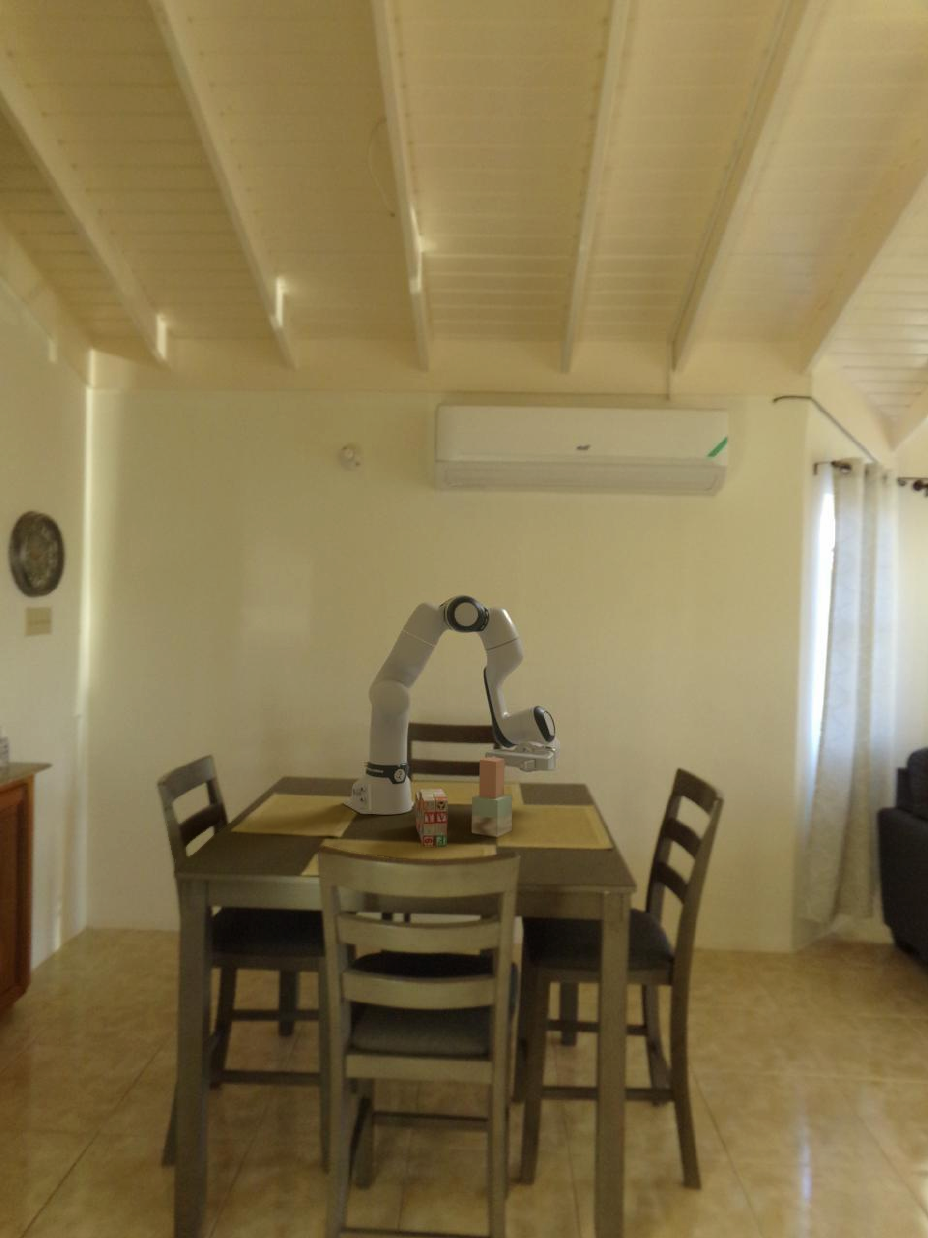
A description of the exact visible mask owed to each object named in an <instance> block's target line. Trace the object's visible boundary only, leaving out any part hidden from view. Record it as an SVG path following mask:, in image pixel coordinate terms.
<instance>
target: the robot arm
mask: <svg viewBox="0 0 928 1238" xmlns="http://www.w3.org/2000/svg"><path fill="white" fill-rule="evenodd" d="M448 630H449V631H450V630H451V631H454V632H456V633H462V634H463V633H464V634H465V633H476V634H477V635H478V636H479V637H480V639H481V642H482V645H483V648H484V650H485V654H486V661H487V662H486V666H485V667H484V668H483V683H484V688H485V693H486V698H487V703H488V708H489V713H490V716H491V717H490V718H491V727H492V728H491V729H492V735H493V739H494V740H495V742H496V743H498V744H499V745H500V746H502V747H504V748H496V749H495V748H494V749H491V750H490V749H489V750H486V751H485V753H484V758H487V757H493V758H502V759H505V767H510V768H517V769H519V770H520V771H522V772H524V773H531V772H539V771H542V772H543V771H544V772H553V771H556V766H557V760H558V759H559V757H560V755H561V752H562V745H561V742H560V740H559V738H557V736H556V725H555V722H554V719H553V716H552V715H551V713H549V712H548V710H546V709H545V708H544V707H543V706H540V705H535V706H532V707H528V708H524V709H522V710H519V711H518V710H517V711H515V712H511V713H510V712H508V709H507V705H506V699H505V695H504V690H503V684H504V681H505V680H506V679H507V678H508V676H509V675H511V674H512V673H513V672H515V671H516V670H517V668H519V666H520V665H521V664H522V662H523V659H524V656H525V649H524V645H523V643H522V640H521V637H520V635H519V632H518V630H517V628H516V625H515V623H514V622H513V620H512V618H511V616H510V614H509V613H508V611H507V610H506V609H504V608H503V607H501V606H494V607H493V606H492V607H488V608H487V607H485V606H484V605H483V604H482V603H481V602H479V601H478V600H477V599H476V598H473V597H472V596H469V595H464V594H460V595H459V594H458V595H456V596H453V597H451V598H449V599H447V600H446V601H444V602H443V603H441V604H440V605H437V604H435V603H432V602H422V603H420V604H419V605H418V604H417V606H416V608H415V609H414V611H412V612H411V614H410V616H409V617H408V619H407V621H406V623H405V624H404V626H403V628H402V630H401V631H400V633H399V635H398V638H397V639H396V641H395V643H394V645H393V646H392V649H391V651H390V653H389V655H388V656H387V658H386V660H385V661H384V663H383V664H382V666H381V667H380V669H379V671H378V673H377V675H376V676H375V678H374V680H373V681H372V683H371V685H370V687H369V689H368V699H369V702H370V704H371V719H370V720H371V721H370V730H369V731H370V732H369V760H368V761H367V762H364V767H366V769H365V772H364V773H365V774H364V775H362V777H360V778H359V779H357V780H356V781H355V782H354V783H353V784H352V787H351V797H349V798H346V799H345V800H343V805H345V806H346V807H349V808H350V809H352V810H354V811H356V812H357V813H359V814H361V815H371V814H372V815H398V814H404V813H408V812H410V811H412V809H413V808H412V807H414V804H415V803H414V801H412V794H411V793H412V792H411V779H410V778H409V777H408V774H409V762H408V758H407V757H408V732H409V731H408V730H409V721H410V709H411V695H410V691H411V689H412V688H413V686H414V684H415V683H416V681H417V679H418V678H419V677H420V675H421V674H422V673H423V671H424V670H425V668H426V666H427V664H428V662H429V660H430V658H431V657H432V654H433V653H434V650H435V648H436V646H437V644H438V643H439V640H440V638H441V636H442V635H443V634H444V633H445V632H446V631H448ZM514 747H515V748H514ZM505 748H507V749H505ZM510 748H514V749H510Z"/></svg>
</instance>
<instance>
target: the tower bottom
mask: <svg viewBox="0 0 928 1238" xmlns="http://www.w3.org/2000/svg"><path fill="white" fill-rule="evenodd" d="M512 821H513V812H512V813H511V814H509V815H506V816H504V817H502V818H499V819H493V818H487V817H481V816H475V815H472V814H471V834H476V835H483V836H489V837H495V838H499V837H500V836H503V835H505V834H508V833H510V832H512V831H513V830H512V829H513V824H512V823H513V822H512ZM511 830H512V831H511ZM509 831H510V832H509ZM507 832H508V833H507Z"/></svg>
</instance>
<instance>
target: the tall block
mask: <svg viewBox="0 0 928 1238" xmlns="http://www.w3.org/2000/svg"><path fill="white" fill-rule="evenodd" d="M505 767H506V766H505V759H502V758H493V757H487V758H485V757H484V758H482V759H479V780H478V781H479V785H478V786H479V789H478V791H479V793H478V794H479V797H486V798H493V799H497V798H499V797H501V796H504V794H505Z"/></svg>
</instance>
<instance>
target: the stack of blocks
mask: <svg viewBox="0 0 928 1238" xmlns="http://www.w3.org/2000/svg"><path fill="white" fill-rule="evenodd" d="M414 800H415V803H414V804H415V826H416V830H417V833H418V835H419V839H420V842H421V845H423V846H434V847H447V844H448V843H447V841H448V831H447V829H448V804H449V800H448V799H447V796H446V793H445V792H444V791H443V789H442V788H432V789H430V788H429V789H418V792H415V799H414ZM423 846H422V847H423Z"/></svg>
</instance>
